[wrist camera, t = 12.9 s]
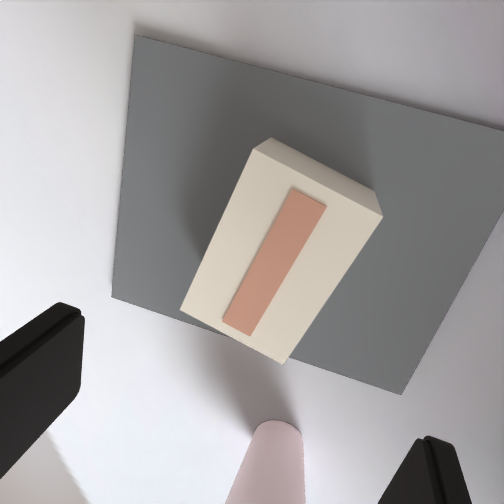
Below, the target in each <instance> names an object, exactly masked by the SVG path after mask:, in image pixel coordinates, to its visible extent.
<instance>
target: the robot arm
mask: <svg viewBox="0 0 504 504" xmlns="http://www.w3.org/2000/svg"><path fill="white" fill-rule="evenodd" d="M84 326H85V318H84V316H82V315H81V311H80V309H78V308H76V307H73V306H70V305H67V304H65V303H62V302H58V303H56V304H54V305H53V306H51V307H50V308H49V309H47V310H46V311H44V312H43V313H41V314H40V315H38V316H37V317H35V318H34V319H33V320H31V321H30V322H28V323H27V324H25V325H24V326H22V327H21V328H19V329H18V330H17V331H15V332H14V333H12V334H11V335H9V336H8V337H6V338H5V339H3V340H2V341H1V342H0V479H1V478H2V477H3V476H4V475H5V474H6V473H7V471H8V470H9V469H10V468H11V467H12V466H13V465H14V464H15V463H16V462H17V461H18V460H19V458H20V457H21V456H22V455H23V454H24V453H25V452H26V451H27V450H28V449H29V448H30V447H31V445H32V444H33V443H34V442H35V441H36V440H37V439H38V438H39V437H40V435H42V434H43V432H44V431H45V430H46V429H47V428H48V427H49V426H50V425H51V424H52V423H53V422H54V421H55V419H56V418H57V417H58V416H59V415H60V414H61V413H62V412H63V411H64V410H65V409H66V408H67V406H68V405H69V404H70V403H71V402H72V401H73V400H74V399H75V397H76V396H77V394H78V392H79V390H80V386H81V371H82V356H83V341H84ZM378 504H472V502H471V499H470V496H469V492H468V489H467V486H466V483H465V480H464V476H463V473H462V470H461V467H460V464H459V460H458V457H457V454H456V451H455V448H454V446H453V445H452V444H451V443H448V442H445V441H442V440H440V439H437V438H434V437H431V436H426V437H424V439H423V440H422V439H419V438H418V439H417V440H416V441H415V442H414V444H413V446H412V447H411V449H410V451H409V452H408V454H407V455H406V457H405V459H404V460H403V462H402V464H401V465H400V467H399V469H398V470H397V472H396V474H395V475H394V477H393V479H392V480H391V482H390V484H389V485H388V487H387V489H386V490H385V492H384V494H383V495H382V497H381V499H380V500H379V502H378Z"/></svg>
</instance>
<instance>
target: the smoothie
mask: <svg viewBox="0 0 504 504" xmlns="http://www.w3.org/2000/svg"><path fill="white" fill-rule="evenodd" d="M225 504H306V501H305V475H304V448H303V438H302V436H301V434H300V432H299V431H298V430H297V429H296V428H295V427H293V426H292V425H290V424H288V423H286V422H283V421H278V420H270V421H266V422H263V423H261V424H260V425H259V426H258V427H257V428H256V430H255V432H254V435H253V437H252V440H251V442H250V445H249V447H248V449H247V452H246V454H245V457H244V459H243V461H242V464H241V466H240V469H239V471H238V473H237V476H236V478H235V481H234V483H233V485H232V488H231V490H230V493H229V495H228V497H227V500H226V502H225Z"/></svg>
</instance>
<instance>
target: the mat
mask: <svg viewBox="0 0 504 504" xmlns="http://www.w3.org/2000/svg"><path fill="white" fill-rule="evenodd" d="M271 137H272V138H274V139H276V140H278V141H280V142H281V143H283V144H285V145H287V146H289V147H291V148H293V149H295V150H297V151H299V152H301V153H302V154H304V155H306V156H308V157H310V158H312V159H314V160H316V161H318V162H320V163H322V164H323V165H325V166H327V167H329V168H331V169H333V170H335V171H337V172H339V173H341V174H342V175H344V176H346V177H348V178H350V179H352V180H354V181H356V182H358V183H360V184H362V185H363V186H365V187H367V188H369V189H371V190H373V191H374V192H375V194H376V197H377V200H378V203H379V206H380V209H381V212H382V215H383V218H382V220H381V221H380V223H379V224H378V226H377V227H376V228H375V230H374V231H373V233H372V234H371V236H370V237H369V239H368V240H367V242H366V243H365V245H364V246H363V248H362V249H361V251H360V252H359V254H358V255H357V257H356V258H355V260H354V261H353V263H352V264H351V265H350V267H349V268H348V270H347V271H346V273H345V274H344V276H343V277H342V279H341V280H340V282H339V283H338V285H337V286H336V288H335V289H334V291H333V292H332V294H331V295H330V297H329V298H328V300H327V301H326V302H325V304H324V305H323V307H322V308H321V310H320V311H319V313H318V314H317V316H316V317H315V319H314V320H313V322H312V323H311V325H310V326H309V328H308V329H307V331H306V332H305V334H304V335H303V337H302V338H301V339H300V341H299V342H298V344H297V345H296V347H295V348H294V350H293V351H292V353H291V354H290V356H289V357H290V358H293V359H296V360H299V361H302V362H305V363H308V364H311V365H313V366H316V367H319V368H322V369H325V370H328V371H331V372H334V373H337V374H340V375H343V376H346V377H349V378H352V379H355V380H358V381H361V382H364V383H367V384H370V385H373V386H376V387H379V388H381V389H384V390H387V391H390V392H393V393H396V394H399V395H402V393H403V391H404V389H405V387H406V386H407V384H408V382H409V380H410V378H411V377H412V375H413V373H414V371H415V369H416V368H417V366H418V364H419V362H420V360H421V359H422V357H423V355H424V353H425V351H426V349H427V348H428V346H429V344H430V342H431V340H432V339H433V337H434V335H435V333H436V331H437V330H438V328H439V326H440V324H441V322H442V321H443V319H444V317H445V315H446V313H447V312H448V310H449V308H450V306H451V304H452V303H453V301H454V299H455V297H456V295H457V293H458V292H459V290H460V288H461V286H462V284H463V283H464V281H465V279H466V277H467V275H468V274H469V272H470V270H471V268H472V266H473V265H474V263H475V261H476V259H477V257H478V256H479V254H480V252H481V250H482V248H483V247H484V245H485V243H486V241H487V239H488V238H489V236H490V234H491V232H492V230H493V228H494V227H495V225H496V223H497V221H498V219H499V218H500V216H501V214H502V212H503V210H504V131H501V130H498V129H494V128H490V127H486V126H482V125H478V124H475V123H471V122H467V121H463V120H459V119H456V118H452V117H448V116H444V115H440V114H436V113H433V112H429V111H425V110H421V109H417V108H413V107H410V106H406V105H402V104H398V103H394V102H391V101H387V100H383V99H379V98H375V97H371V96H368V95H364V94H360V93H356V92H352V91H348V90H345V89H341V88H337V87H333V86H329V85H326V84H322V83H318V82H314V81H310V80H306V79H303V78H299V77H295V76H291V75H287V74H283V73H280V72H276V71H272V70H268V69H264V68H261V67H257V66H253V65H249V64H245V63H241V62H238V61H234V60H230V59H226V58H222V57H218V56H215V55H211V54H207V53H203V52H199V51H196V50H192V49H188V48H184V47H180V46H176V45H173V44H169V43H165V42H161V41H157V40H153V39H150V38H146V37H142V36H138V35H135V39H134V50H133V61H132V72H131V83H130V95H129V106H128V117H127V128H126V139H125V151H124V162H123V173H122V184H121V195H120V207H119V218H118V229H117V240H116V251H115V263H114V274H113V285H112V296H111V297H112V298H115V299H118V300H121V301H124V302H127V303H130V304H133V305H136V306H139V307H142V308H145V309H148V310H151V311H154V312H157V313H160V314H163V315H166V316H169V317H172V318H174V319H177V320H180V321H183V322H186V323H189V324H192V325H195V326H198V327H201V328H204V329H207V330H210V331H213V332H216V333H219V334H222V335H225V336H228V335H226V334H224V333H222V332H220V331H219V330H217V329H215V328H213V327H211V326H209V325H207V324H205V323H203V322H202V321H200V320H198V319H196V318H194V317H192V316H190V315H188V314H187V313H185V312H183V311H181V310H180V308H181V306H182V303H183V301H184V299H185V297H186V295H187V293H188V290H189V288H190V286H191V284H192V282H193V279H194V277H195V275H196V273H197V271H198V268H199V266H200V264H201V262H202V260H203V257H204V255H205V253H206V251H207V249H208V246H209V244H210V242H211V240H212V238H213V235H214V233H215V231H216V229H217V227H218V224H219V222H220V220H221V218H222V216H223V214H224V211H225V209H226V207H227V205H228V203H229V200H230V198H231V196H232V194H233V192H234V189H235V187H236V185H237V183H238V181H239V178H240V176H241V174H242V172H243V170H244V167H245V165H246V163H247V161H248V159H249V156H250V154H251V152H252V150H253V148H255V147H256V146H258V145H260V144H261V143H263V142H264V141H266V140H268V139H269V138H271ZM228 337H230V336H228ZM231 338H232V337H231Z"/></svg>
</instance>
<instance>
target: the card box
mask: <svg viewBox="0 0 504 504" xmlns="http://www.w3.org/2000/svg"><path fill="white" fill-rule="evenodd" d="M382 218H383V215H382V212H381V209H380V206H379V203H378V200H377V197H376V194H375V192H374V191H373V190H371V189H369V188H367V187H365V186H363V185H362V184H360V183H358V182H356V181H354V180H352V179H350V178H348V177H346V176H344V175H342V174H341V173H339V172H337V171H335V170H333V169H331V168H329V167H327V166H325V165H323V164H322V163H320V162H318V161H316V160H314V159H312V158H310V157H308V156H306V155H304V154H302V153H301V152H299V151H297V150H295V149H293V148H291V147H289V146H287V145H285V144H283V143H281V142H280V141H278V140H276V139H274V138H272V137H271V138H269V139H268V140H266V141H264V142H263V143H261V144H260V145H258V146H256V147H255V148H253V150H252V152H251V154H250V156H249V159H248V161H247V163H246V165H245V167H244V170H243V172H242V174H241V176H240V178H239V181H238V183H237V185H236V187H235V189H234V192H233V194H232V196H231V198H230V200H229V203H228V205H227V207H226V209H225V211H224V214H223V216H222V218H221V220H220V222H219V224H218V227H217V229H216V231H215V233H214V235H213V238H212V240H211V242H210V244H209V246H208V249H207V251H206V253H205V255H204V257H203V260H202V262H201V264H200V266H199V268H198V271H197V273H196V275H195V277H194V279H193V282H192V284H191V286H190V288H189V290H188V293H187V295H186V297H185V299H184V301H183V303H182V306H181V308H180V310H181V311H183V312H185V313H187V314H188V315H190V316H192V317H194V318H196V319H198V320H200V321H202V322H203V323H205V324H207V325H209V326H211V327H213V328H215V329H217V330H219V331H220V332H222V333H224V334H226V335H228V336H230V337H232V338H234V339H235V340H237V341H239V342H241V343H243V344H245V345H247V346H249V347H250V348H252V349H254V350H256V351H258V352H260V353H262V354H264V355H266V356H267V357H269V358H271V359H273V360H275V361H277V362H279V363H281V364H282V365H284V363H285V362H286V360H287V359H288V357H289V356H290V354H291V353H292V351H293V350H294V348H295V347H296V345H297V344H298V342H299V341H300V339H301V338H302V337H303V335H304V334H305V332H306V331H307V329H308V328H309V326H310V325H311V323H312V322H313V320H314V319H315V317H316V316H317V314H318V313H319V311H320V310H321V308H322V307H323V305H324V304H325V302H326V301H327V300H328V298H329V297H330V295H331V294H332V292H333V291H334V289H335V288H336V286H337V285H338V283H339V282H340V280H341V279H342V277H343V276H344V274H345V273H346V271H347V270H348V268H349V267H350V265H351V264H352V263H353V261H354V260H355V258H356V257H357V255H358V254H359V252H360V251H361V249H362V248H363V246H364V245H365V243H366V242H367V240H368V239H369V237H370V236H371V234H372V233H373V231H374V230H375V228H376V227H377V226H378V224H379V223H380V221H381V220H382Z"/></svg>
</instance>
